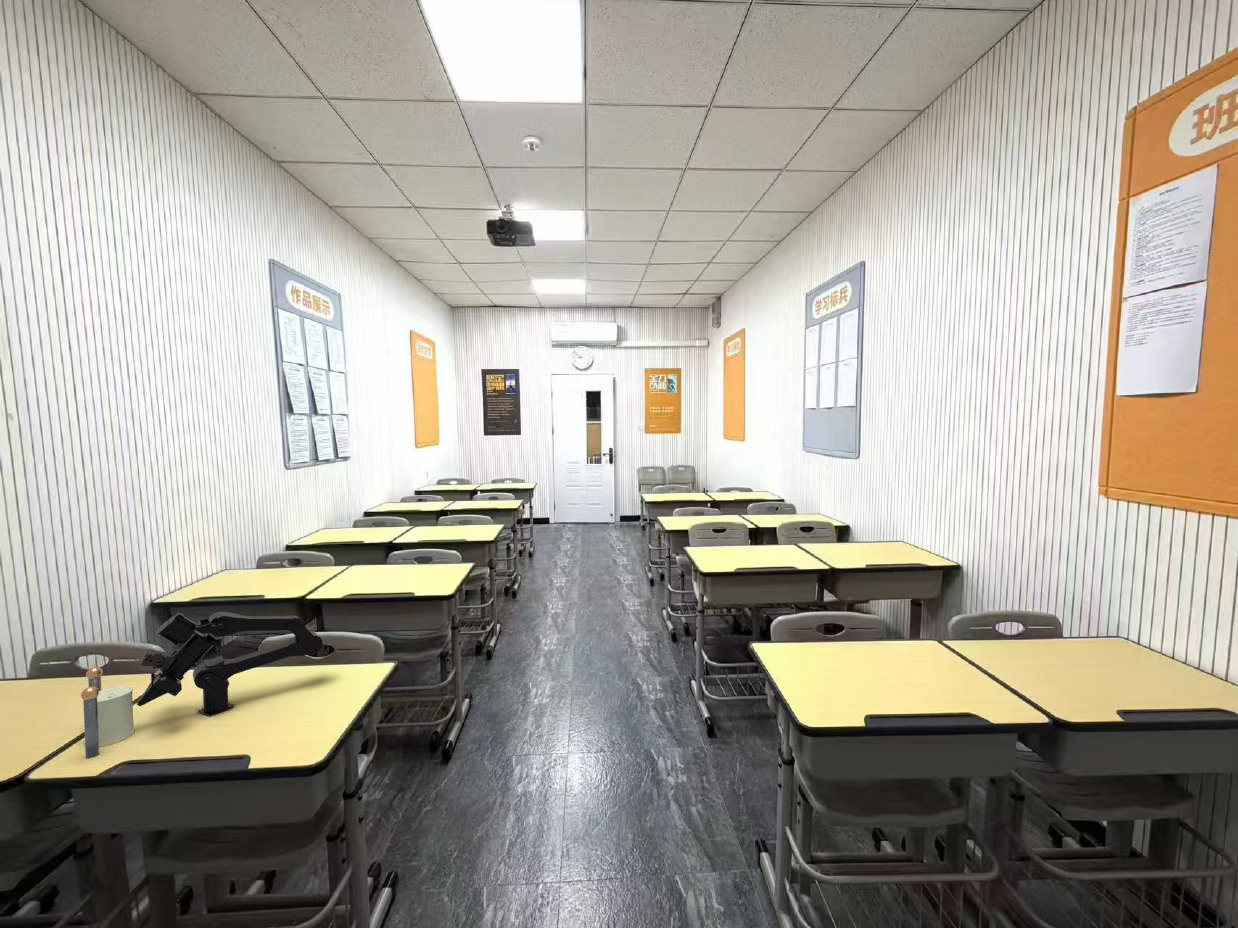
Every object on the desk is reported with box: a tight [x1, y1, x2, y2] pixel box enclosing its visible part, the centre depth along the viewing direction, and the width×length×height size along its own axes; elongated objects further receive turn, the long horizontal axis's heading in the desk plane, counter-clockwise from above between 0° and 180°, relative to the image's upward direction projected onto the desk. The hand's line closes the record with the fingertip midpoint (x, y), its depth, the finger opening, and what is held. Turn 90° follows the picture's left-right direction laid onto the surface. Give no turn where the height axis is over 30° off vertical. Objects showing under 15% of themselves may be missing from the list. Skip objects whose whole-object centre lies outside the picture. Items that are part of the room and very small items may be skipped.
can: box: [97, 685, 135, 748], centre depth 140 cm, size 9×9×12 cm
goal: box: [80, 666, 104, 759], centre depth 138 cm, size 20×3×17 cm, turn 42°
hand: (138, 705), depth 144 cm, fingers closed
